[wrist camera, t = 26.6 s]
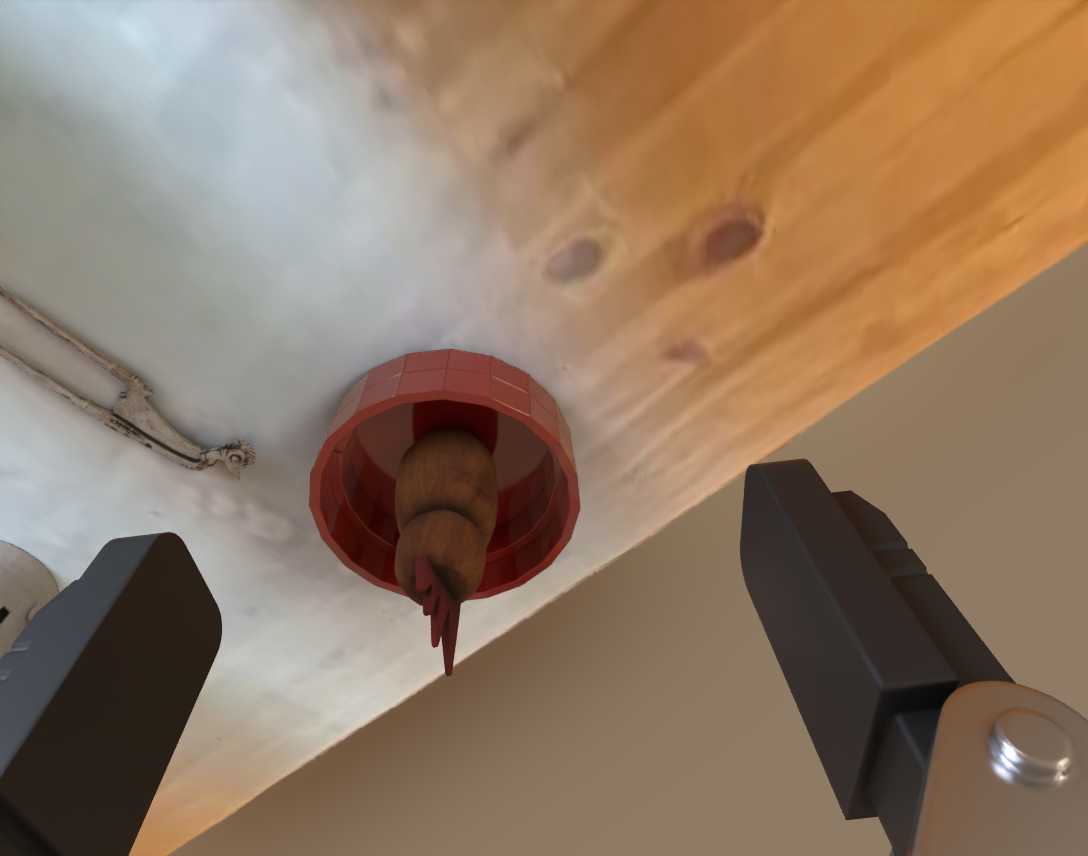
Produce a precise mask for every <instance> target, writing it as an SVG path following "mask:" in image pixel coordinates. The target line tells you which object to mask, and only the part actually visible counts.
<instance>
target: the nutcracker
mask: <svg viewBox="0 0 1088 856" xmlns="http://www.w3.org/2000/svg"><path fill="white" fill-rule="evenodd" d="M0 295H1V296H2V297H4V298H5V299H7V300H8V301H9V302H11V303H12V304H13V305H15V306H16V307H17V308H19V309H20V310H22V311H23V312H24V313H26V314H27V315H29V316H30V317H31V318H33V319H34V320H36V321H37V322H39V323H40V324H41V325H43V326H44V327H45V328H47V329H48V330H50V331H51V332H52V333H54V334H55V335H57V336H58V337H60V338H61V339H63V340H64V341H66V342H67V343H69V344H70V345H72V346H73V347H75V348H76V349H78V350H79V351H81V352H82V353H83V354H85V355H86V356H88V357H89V358H91V359H92V360H94V361H95V362H97V363H98V364H99V365H101V366H102V367H104V368H105V369H106V370H108V371H109V372H110V373H112V374H113V375H114V376H116V377H117V378H118V379H120V380H121V381H123V382H124V383H125V384H127V385H126V386H127V387H128V391H126V392H120V394H119V395H120V396H121V397H122V398H121V399H119V400H118V402H117V403H116V404H115V406H114V408H113V412H114V413H113V412H111V411H109V410H107V409H105V408H103V407H101V406H99V405H97V404H95V403H93V402H91V401H89V400H87V399H86V398H84V397H82V396H80V395H79V394H77V393H75V392H74V391H72V390H70V389H69V388H67V387H66V386H64V385H63V384H61V383H59V382H58V381H56V380H55V379H53V378H52V377H50V376H48V375H47V374H45V373H43V372H42V371H40V370H39V369H37V368H35V367H34V366H32V365H30V364H29V363H27V362H26V361H24V360H23V359H21V358H19V357H18V356H16V355H15V354H13V353H12V352H10V351H8V350H7V349H5V348H4V347H2V346H1V345H0V355H1V356H3V357H4V358H6V359H7V360H9V361H10V362H12V363H13V364H14V365H16V366H18V367H19V368H21V369H22V370H24V371H25V372H27V373H28V374H30V375H31V376H33V377H34V378H36V379H37V380H39V381H40V382H41V383H43V384H44V385H46V386H47V387H49V388H50V389H52V390H53V391H55V392H57V393H58V394H60V395H61V396H63V397H64V398H66V399H67V400H69V401H70V402H72V403H73V404H75V405H77V406H78V407H80V408H81V409H83V410H84V411H86V412H87V413H89V414H90V415H92V416H94V417H95V418H97V419H99V420H100V421H102V422H104V424H105V425H107V426H108V427H110V428H112V429H114V430H116V431H117V432H119V433H121V434H123V435H125V436H127V437H129V438H133V439H134V440H136V441H138V442H139V443H141V444H143V445H144V446H146V447H148V448H150V449H152V450H154V451H155V452H157V453H159V454H161V455H163V456H165V457H167V458H169V459H171V460H173V461H175V462H177V463H179V464H180V465H182V466H185V467H186V468H189V469H194V470H198V471H200V470H204V469H206V468H208V467H211V466H213V465H214V464H215V463H216V461H219V460H221V461H223V462H225V464H226V466H227V468H228V469H229V470H230V471H231V472H232V473H233V474H234V475H235V476H236V477H237V478H238V479H240V473H239V469H238V468H245V467H246V466H245V465H251V464H254V463H255V462H254V461H253V460H255V458H254V457H255V456H254V455H253V454H255V453H254V452H253V449H252V446H249V443H245V442H244V440H242V439H239V438H238V443H239V445H240V447H237V446H236V447H234V446H233V444H232V443H231V442H230V443H227V442H226V444H225V445H224V444H223V445H222V446H221V447H213V448H209V449H205V448H202V447H200V446H198V445H196V444H194V443H192V442H190V441H189V440H187V439H186V438H185V437H183V436H182V435H181V434H179V433H178V432H177V431H176V430H175V429H173V428H172V427H171V426H170V425H169V424H168V422H167V421H166V420H165V419H164V418H163V417H162V416H161V414H160V413H159V412H158V411H157V409H156V408H155V407H154V405H153V404H152V403H151V401H150V400H149V399H148V398H147V396H150V395H151V394H152V393H153V390H151V389H149V387H148V386H147V384H146V383H145V382H144V381H142V380H141V378H139V377H138V376H137V375H136V374H133V373H131V372H130V371H128V370H127V369H125V368H123V367H121V366H120V365H118V364H116V363H115V362H113V361H111V360H110V359H108V358H107V357H105V356H103V355H102V354H100V353H99V352H97V351H96V350H94V349H93V348H91V347H90V346H88V345H87V344H85V343H84V342H82V341H81V340H79V339H78V338H76V337H75V336H73V335H72V334H70V333H69V332H67V331H66V330H64V329H63V328H61V327H59V326H58V325H56V324H55V323H53V322H52V321H50V320H49V319H47V318H46V317H44V316H43V315H41V314H40V313H38V312H37V311H36V310H34V309H33V308H31V307H30V306H28V305H27V304H25V303H24V302H22V301H21V300H19V299H17V298H16V297H14V296H13V295H11V294H10V293H8V292H7V291H5V290H4V289H2V288H1V287H0Z"/></svg>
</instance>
